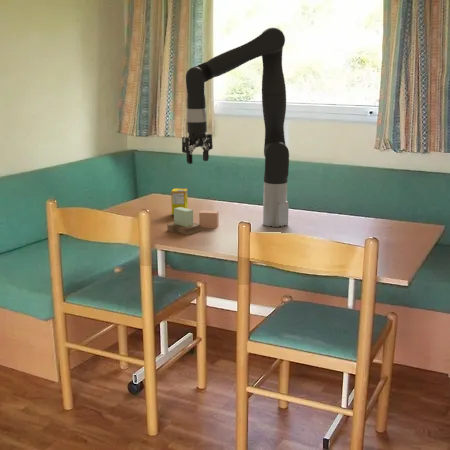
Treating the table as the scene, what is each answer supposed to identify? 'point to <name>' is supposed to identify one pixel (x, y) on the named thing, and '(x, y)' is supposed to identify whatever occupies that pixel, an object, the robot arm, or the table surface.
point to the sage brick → (183, 216)
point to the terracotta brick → (209, 219)
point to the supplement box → (179, 198)
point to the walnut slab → (183, 228)
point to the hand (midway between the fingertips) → (197, 162)
